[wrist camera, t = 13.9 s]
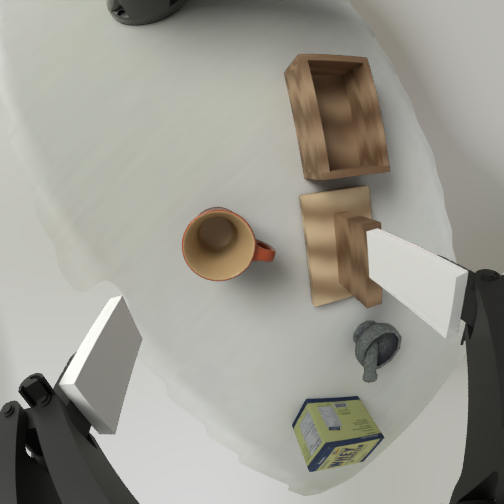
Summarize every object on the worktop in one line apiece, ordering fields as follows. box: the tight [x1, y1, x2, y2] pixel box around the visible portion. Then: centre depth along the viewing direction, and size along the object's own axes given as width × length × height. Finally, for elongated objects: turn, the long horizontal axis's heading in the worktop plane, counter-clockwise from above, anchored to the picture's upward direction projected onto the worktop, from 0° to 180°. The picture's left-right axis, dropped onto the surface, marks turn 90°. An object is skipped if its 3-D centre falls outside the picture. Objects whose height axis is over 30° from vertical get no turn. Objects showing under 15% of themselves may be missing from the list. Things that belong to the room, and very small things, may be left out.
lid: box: [299, 185, 382, 308], centre depth 40 cm, size 19×12×12 cm, turn 10°
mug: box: [182, 207, 276, 281], centre depth 38 cm, size 12×9×10 cm
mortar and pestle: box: [353, 321, 401, 383], centre depth 47 cm, size 11×9×12 cm
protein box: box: [292, 396, 384, 472], centre depth 51 cm, size 10×16×16 cm
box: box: [284, 54, 390, 180], centre depth 36 cm, size 18×11×8 cm, turn 10°
